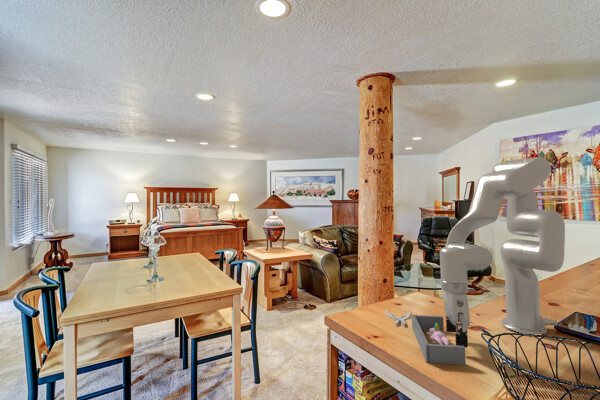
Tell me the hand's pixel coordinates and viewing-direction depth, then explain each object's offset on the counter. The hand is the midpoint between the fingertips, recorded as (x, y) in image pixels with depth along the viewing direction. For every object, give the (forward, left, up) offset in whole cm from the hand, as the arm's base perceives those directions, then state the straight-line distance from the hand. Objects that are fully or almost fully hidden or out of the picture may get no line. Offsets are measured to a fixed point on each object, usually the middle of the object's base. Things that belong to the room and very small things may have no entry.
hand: (456, 338), depth 90 cm
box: (+6, 0, -2) cm, 7 cm away
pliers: (+15, -20, -3) cm, 25 cm away
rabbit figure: (+5, -2, -3) cm, 6 cm away
